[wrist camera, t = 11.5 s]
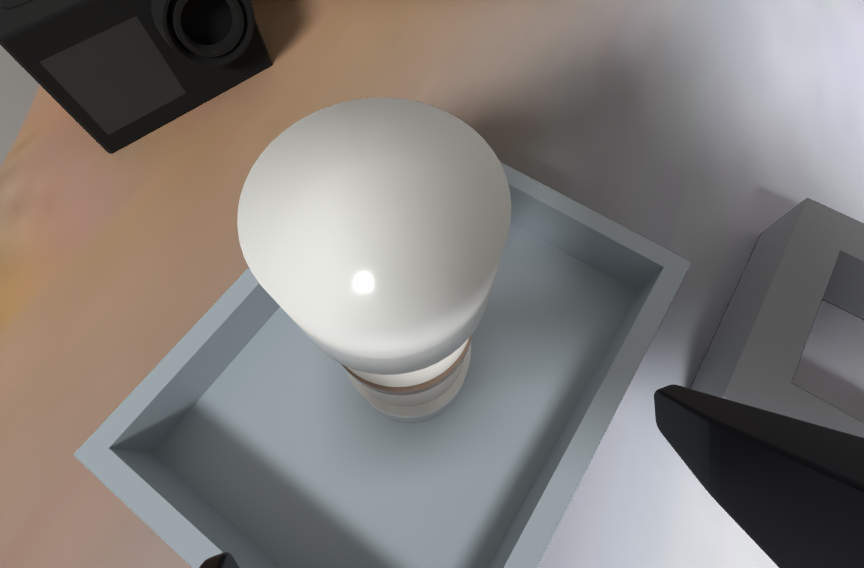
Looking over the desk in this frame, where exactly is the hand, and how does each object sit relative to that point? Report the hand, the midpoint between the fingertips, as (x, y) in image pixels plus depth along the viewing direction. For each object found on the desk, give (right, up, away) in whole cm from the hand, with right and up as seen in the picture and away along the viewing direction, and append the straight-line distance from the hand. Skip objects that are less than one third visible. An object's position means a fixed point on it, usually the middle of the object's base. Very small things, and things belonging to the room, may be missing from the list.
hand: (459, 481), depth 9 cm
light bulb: (-1, +1, +9) cm, 9 cm away
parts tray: (-1, 0, +10) cm, 10 cm away
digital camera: (-15, +15, +17) cm, 27 cm away
